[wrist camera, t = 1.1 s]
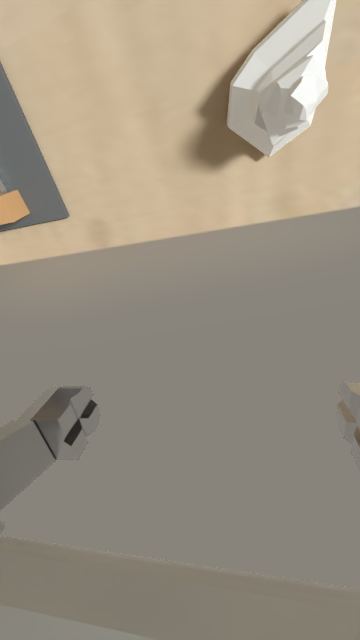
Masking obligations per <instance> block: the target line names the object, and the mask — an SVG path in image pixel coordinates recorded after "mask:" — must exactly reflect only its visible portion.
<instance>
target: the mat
mask: <svg viewBox="0 0 360 640" xmlns="http://www.w3.org/2000/svg"><path fill="white" fill-rule="evenodd" d="M0 168H1V170H2V172H3V174H4V175H5V177H6V179H7V181H8V183H9V185H10V186H11V188H12V190H13V191H14V190H18V191H19V193H20V195H21V197H22V199H23V201H24V203H25V204H26V206H27V208H28V210H29V212H30V214H28V215H26V216H24V217H22V218H21V219H19V220H17V221H15V222H12V223H7V224H2V225H0V231H4V230H9V229H14V228H19V227H24V226H29V225H34V224H39V223H44V222H48V221H53V220H58V219H63V218H68V217H69V213H68V211H67V209H66V207H65V204H64V202H63V200H62V198H61V196H60V193H59V191H58V189H57V187H56V184H55V182H54V180H53V178H52V176H51V173H50V171H49V169H48V167H47V164H46V162H45V160H44V158H43V156H42V153H41V151H40V149H39V147H38V144H37V142H36V140H35V138H34V136H33V133H32V131H31V129H30V127H29V124H28V122H27V120H26V118H25V116H24V113H23V111H22V109H21V107H20V104H19V102H18V100H17V98H16V96H15V93H14V91H13V89H12V87H11V84H10V82H9V80H8V78H7V75H6V73H5V71H4V69H3V67H2V64H1V62H0Z"/></svg>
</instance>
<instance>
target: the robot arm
mask: <svg viewBox="0 0 360 640" xmlns="http://www.w3.org/2000/svg"><path fill="white" fill-rule="evenodd" d="M339 394H340V396H341V397H342V399H343V400H342V401H341V402H339V403H338V404H337V420H338V425H339V428H340V431H341V433H342V435H343V437H344V438H345V439H346V440H347V441H348V442H350V443H351V444H352V449H351V454H352V456H353V458H354V460H355V462H356V464H357V466H358V468H359V470H360V381H359V382H342V383H341V385H340V389H339ZM92 397H93V393H92V390H91V388H89V387H86V386H62V387H61V386H57V387H56V386H51V387H49V388H46V389H45V390H44V392H43V393H42V394H41V395H40V396H39V397H38V398H37V399H36V400H35V401H34V402H33V403H32V404H31V405H30V406H29V407H28V408H27V409H26V410H25V412H24V413H23V414H22V415H21V416H20V417H19V418H18V419H17V420H15V421H14V420H13V421H10V422H9V423H7V424H5V425H3V426H2V427H0V511H1V510H2V509H3V508H4V507H5V506H6V505H7V504H9V502H11V501H12V500H13V499H14V498H15V497H16V496H17V495H19V494H20V493H21V492H22V491H23V490H24V489H25V488H26V487H27V486H29V485H30V484H31V483H32V482H33V481H34V480H35V479H36V478H37V477H39V476H40V475H41V474H42V473H43V472H44V471H45V470H46V469H48V468H49V467H50V466H51V465H52V464H53V463H54V462H55V461H56V460H79V458H80V456H81V454H82V453H83V451H84V449H85V447H86V445H87V444H88V436H89V435H90V434H92V433H93V432H94V431H95V429H96V428H97V425H98V423H99V418H100V411H99V407H98V405H97V404H96V403H95V402H94V401H93V400H92ZM4 528H5V521H4V520H3V519H2V518H1V517H0V534H1V533H2V531H3V530H4ZM0 640H360V589H356V588H350V587H344V586H336V585H330V584H323V583H316V582H309V581H303V580H296V579H289V578H282V577H276V576H269V575H262V574H255V573H248V572H242V571H234V570H228V569H221V568H215V567H208V566H201V565H194V564H187V563H180V562H174V561H166V560H160V559H153V558H147V557H140V556H133V555H126V554H120V553H113V552H106V551H98V550H92V549H85V548H78V547H72V546H65V545H58V544H51V543H45V542H38V541H31V540H24V539H17V538H11V537H4V536H0Z"/></svg>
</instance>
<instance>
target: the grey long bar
mask: <svg viewBox="0 0 360 640" xmlns="http://www.w3.org/2000/svg"><path fill="white" fill-rule="evenodd" d="M11 191H13V190H12V188H11V186H10V185H9V183H8V181H7V179H6V177H5V175H4V174H3V172H2V170H1V168H0V195H3V194H6V193H8V192H11Z"/></svg>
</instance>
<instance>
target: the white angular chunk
mask: <svg viewBox="0 0 360 640" xmlns="http://www.w3.org/2000/svg"><path fill="white" fill-rule="evenodd" d="M335 5H336V0H303V1H302V2H301V3H300V4H299V5H298V6H297V7H295V8H294V9H293V10H292V11H291V12H290V13H289V14H288V15H287V16H286V17H285V18H284V19H283V20H282V21H281V22H280V23H279V24H278V25H277V26H276V27H275V28H274V29H273V30H272V31H271V32H270V33H269V34H268V35H267V36H266V37H265V38H264V39H263V40H262V41H261V42H260V43H259V44H258V45H257V46H256V47H255V48H254V49H253V50H252V51H251V52H250V54H249V55H248V57H247V58H246V60H245V61H244V63H243V64H242V66H241V67H240V69H239V70H238V72H237V73H236V75H235V76H234V78H233V79H232V81H231V82H230V93H229V104H228V115H227V126H228V128H229V129H231V130H232V131H233V132H235V133H236V134H238V135H239V136H240V137H242V138H243V139H244V140H246V141H247V142H249V143H250V144H251V145H253V146H254V147H255V148H257V149H258V150H260V151H261V152H262V153H264V154H265V155H266V156H268V157H270V156H271V155H272V154H274V153H275V152H276V151H278V150H279V149H280V148H282V147H283V146H284V145H286V144H287V143H288V142H290V141H291V140H292V139H294V138H295V137H296V136H298V135H299V134H300V133H302V132H303V131H304V130H306V129H307V128H308V127H310V126H311V123H312V119H313V116H314V112H315V108H316V107H317V106H318V104H319V103H320V102H321V101H322V100H323V98H324V97H325V96H326V95H327V92H328V85H329V84H328V82H327V80H326V73H325V62H326V57H327V51H328V45H329V40H330V34H331V28H332V23H333V17H334V11H335Z"/></svg>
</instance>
